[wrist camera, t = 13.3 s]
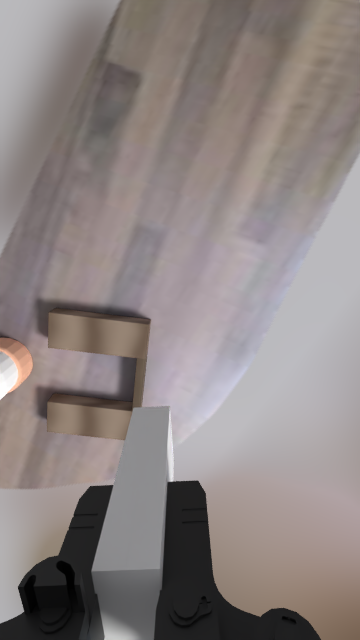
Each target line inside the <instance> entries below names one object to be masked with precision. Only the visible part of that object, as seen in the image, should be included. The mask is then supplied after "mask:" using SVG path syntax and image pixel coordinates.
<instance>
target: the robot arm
mask: <svg viewBox="0 0 360 640" xmlns="http://www.w3.org/2000/svg"><path fill="white" fill-rule="evenodd" d="M173 469H174V458H173V444H172V430H171V416H170V406H161V407H139V408H133V412H132V416H131V420H130V424H129V427H128V431H127V435H126V439H125V443H124V447H123V451H122V455H121V458H120V462H119V466H118V470H117V474H116V478H115V482H114V485H107V486H106V485H105V486H90V487H89V488H88V489H87V491H86V492H85V493H84V494H83V496H82V497H81V498H80V499H79V502H78V504H77V507H76V509H75V512H74V517H73V518H72V520H71V523H70V526H69V530H68V531H67V534H66V536H65V539H64V542H63V545H62V547H61V550H60V553H59V555H58V556H54V557H49V558H47V559H45V560H43V561H41V562H40V563H38V564H36V565H35V566H34V567H33V568H32V569H31V570H30V571H29V572H28V573H27V574H26V575H25V576H24V578H23V579H22V581H21V583H20V584H19V586H18V590H19V593H20V597H21V601H22V604H23V608H24V612H23V613H22V614H20V615H19V616H17V617H15V618H13V619H11V620H8V621H6V622H3V623H1V624H0V640H321V639H320V637H319V635H318V634H317V633H316V631H315V630H314V628H313V627H312V626H311V624H310V623H309V622H308V621H307V620H306V619H304V618H303V617H302V616H300V615H299V614H298V613H297V612H294V611H291V610H288V609H285V608H277V609H271V610H269V611H268V612H266V613H264V614H263V615H262V616H261V617H259V616H256V615H253V614H250V613H247V612H244V611H242V610H240V609H238V608H236V607H234V606H232V605H231V604H230V603H229V602H227V601H226V600H225V599H224V598H223V597H222V595H221V594H220V592H219V591H218V589H217V586H216V584H215V581H214V577H213V570H212V559H211V549H210V537H209V526H208V515H207V504H206V493H205V491H204V490H203V488H202V486H201V485H200V483H199V481H176V482H173Z"/></svg>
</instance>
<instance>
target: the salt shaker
mask: <svg viewBox="0 0 360 640" xmlns="http://www.w3.org/2000/svg"><path fill="white" fill-rule="evenodd" d="M32 367H33V364H32V357H31V355H30V352H29V351H28V350H27V348H26V347H25V346H24V345H23V344H21V343H20V342H18V341H16V340H14V339H11V338H0V400H1V399H2V398H3V397H4V396H5V395H6V394H7V393H9V392H11V391H13V390H14V389H16V388H17V387H18V386H19V385H20V384H21V383H22V382H23V381H24V380H25V379H26V378H27V377H28V376H29V374H30V373H31V370H32Z"/></svg>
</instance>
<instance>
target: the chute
mask: <svg viewBox="0 0 360 640" xmlns="http://www.w3.org/2000/svg"><path fill="white" fill-rule="evenodd" d="M150 324H151V320H150V319H142V318H134V317H126V316H117V315H109V314H101V313H93V312H84V311H76V310H68V309H60V308H55V309H53V310H52V311H50V312H49V313H48V348H55V349H63V350H72V351H80V352H89V353H98V354H106V355H115V356H123V357H132V358H137V364H136V374H135V385H134V395H133V402H127V401H118V400H109V399H100V398H91V397H82V396H73V395H64V394H55V393H54V394H53V395H52V396H51V398H50V399H49V400H48V402H47V432H54V433H63V434H72V435H81V436H91V437H100V438H109V439H118V440H125V439H126V435H127V431H128V427H129V424H130V420H131V416H132V412H133V408H139V407H142V400H143V390H144V381H145V371H146V362H147V352H148V343H149V333H150Z"/></svg>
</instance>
